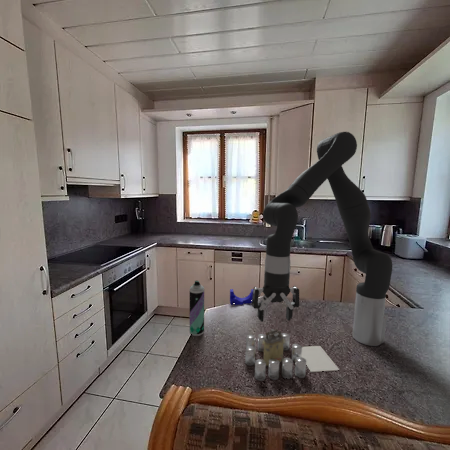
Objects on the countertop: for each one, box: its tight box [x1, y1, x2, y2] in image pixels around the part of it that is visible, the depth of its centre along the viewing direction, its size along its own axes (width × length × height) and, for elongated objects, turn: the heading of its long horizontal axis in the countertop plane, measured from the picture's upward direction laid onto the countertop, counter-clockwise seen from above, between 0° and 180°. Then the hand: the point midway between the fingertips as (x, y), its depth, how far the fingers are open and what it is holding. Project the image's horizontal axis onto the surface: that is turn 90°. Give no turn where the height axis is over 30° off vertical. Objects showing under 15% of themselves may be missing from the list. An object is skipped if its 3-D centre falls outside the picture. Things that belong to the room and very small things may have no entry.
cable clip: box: [229, 288, 253, 306], centre depth 122 cm, size 12×4×6 cm, turn 93°
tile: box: [301, 345, 340, 373], centre depth 81 cm, size 9×12×1 cm
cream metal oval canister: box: [262, 328, 284, 367], centre depth 79 cm, size 7×4×10 cm, turn 122°
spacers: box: [244, 332, 307, 382], centre depth 79 cm, size 18×16×4 cm
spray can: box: [189, 280, 205, 337], centre depth 95 cm, size 6×6×20 cm
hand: (274, 319), depth 78 cm, fingers open, 8 cm apart
